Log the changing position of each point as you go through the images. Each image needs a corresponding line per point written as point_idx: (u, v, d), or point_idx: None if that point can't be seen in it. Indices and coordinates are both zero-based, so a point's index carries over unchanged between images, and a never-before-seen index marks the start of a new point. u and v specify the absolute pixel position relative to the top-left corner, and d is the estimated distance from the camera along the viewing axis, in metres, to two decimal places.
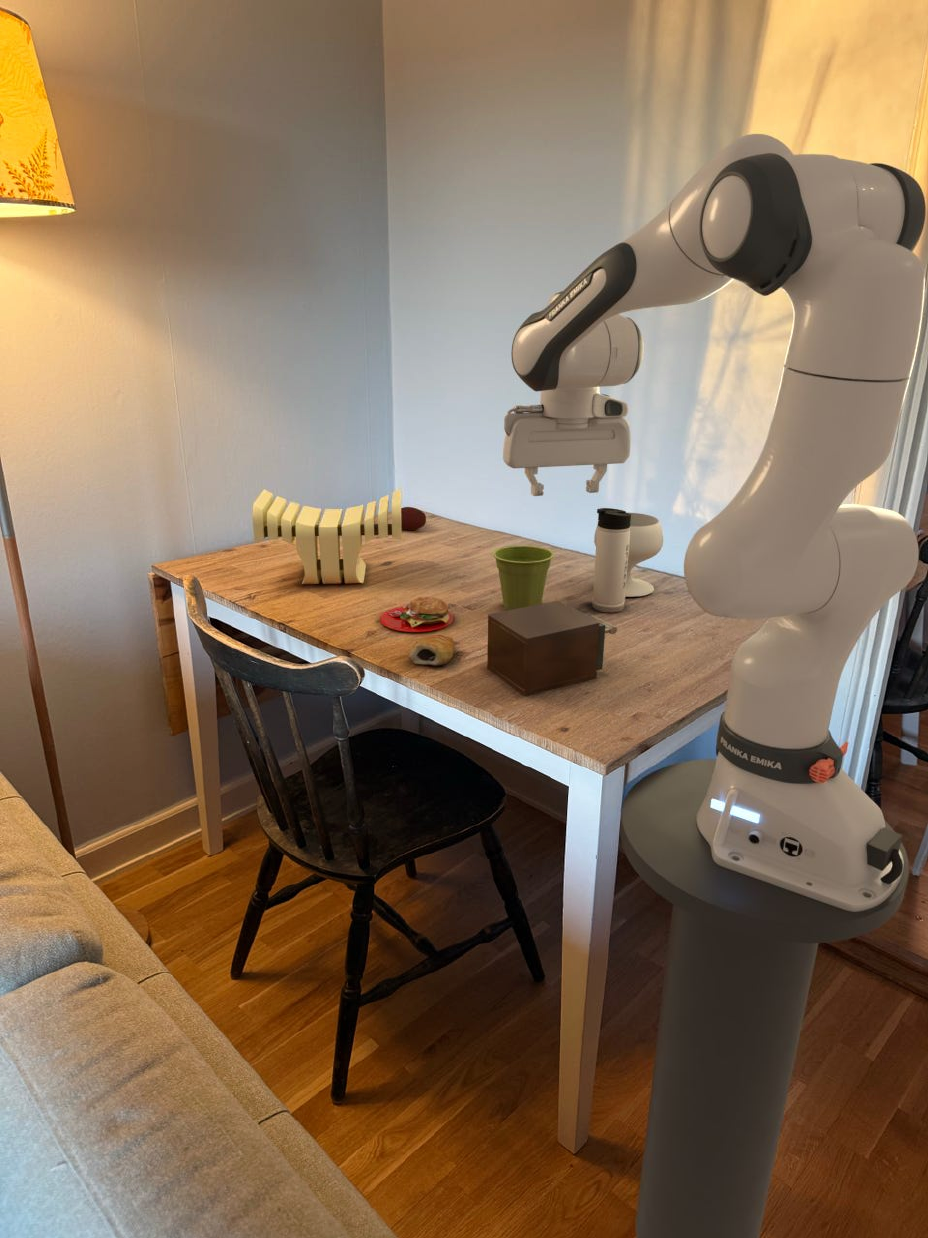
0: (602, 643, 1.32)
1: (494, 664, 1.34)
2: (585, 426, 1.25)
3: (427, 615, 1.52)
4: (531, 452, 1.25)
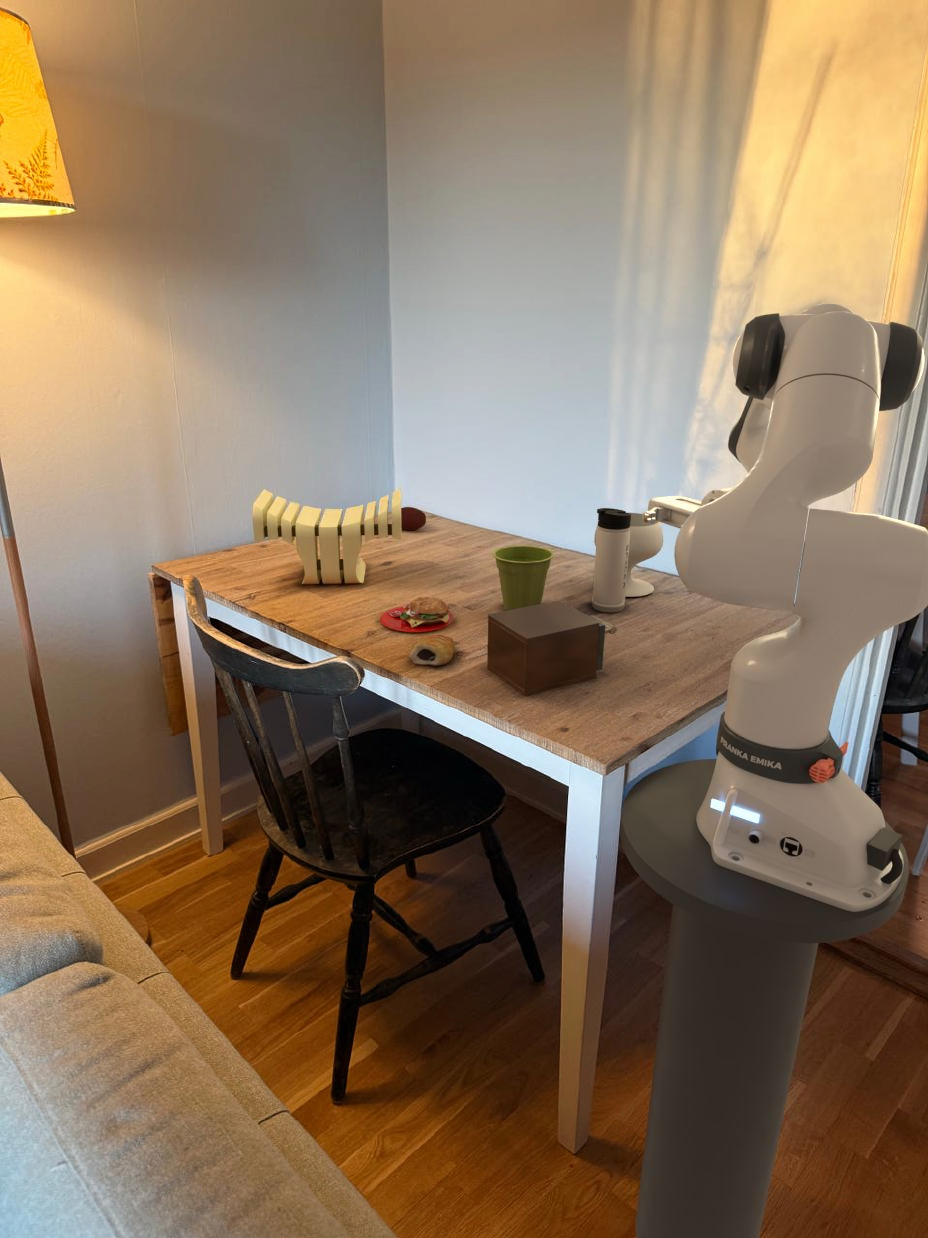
0: (602, 643, 1.32)
1: (494, 664, 1.34)
2: None
3: (427, 615, 1.52)
4: (669, 500, 1.45)
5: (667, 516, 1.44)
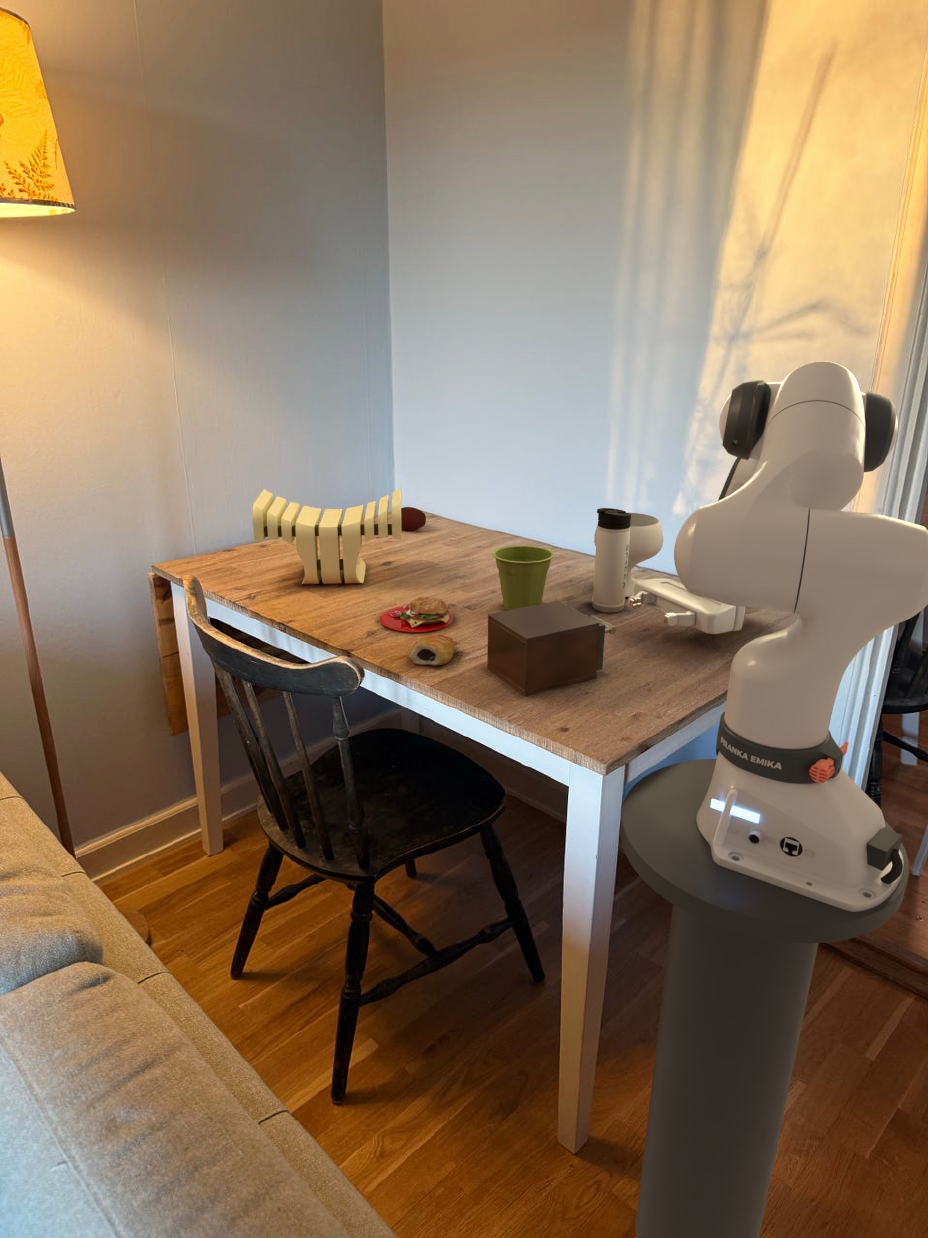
0: (602, 643, 1.32)
1: (494, 664, 1.34)
2: None
3: (427, 615, 1.52)
4: (654, 584, 1.50)
5: (652, 600, 1.48)
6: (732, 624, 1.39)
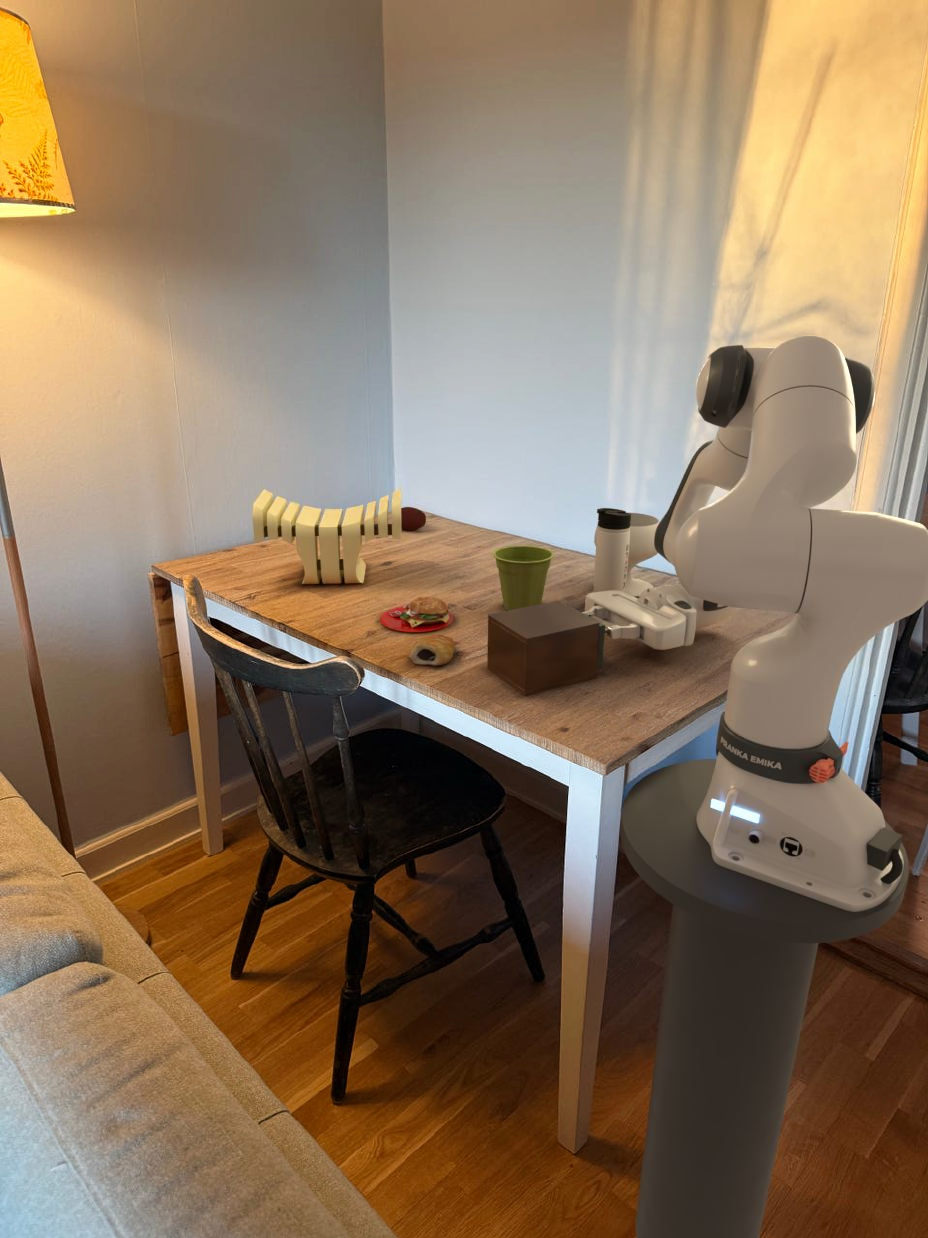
0: (602, 643, 1.32)
1: (494, 664, 1.34)
2: (654, 603, 1.40)
3: (427, 615, 1.52)
4: (605, 597, 1.45)
5: (606, 616, 1.43)
6: (682, 639, 1.35)
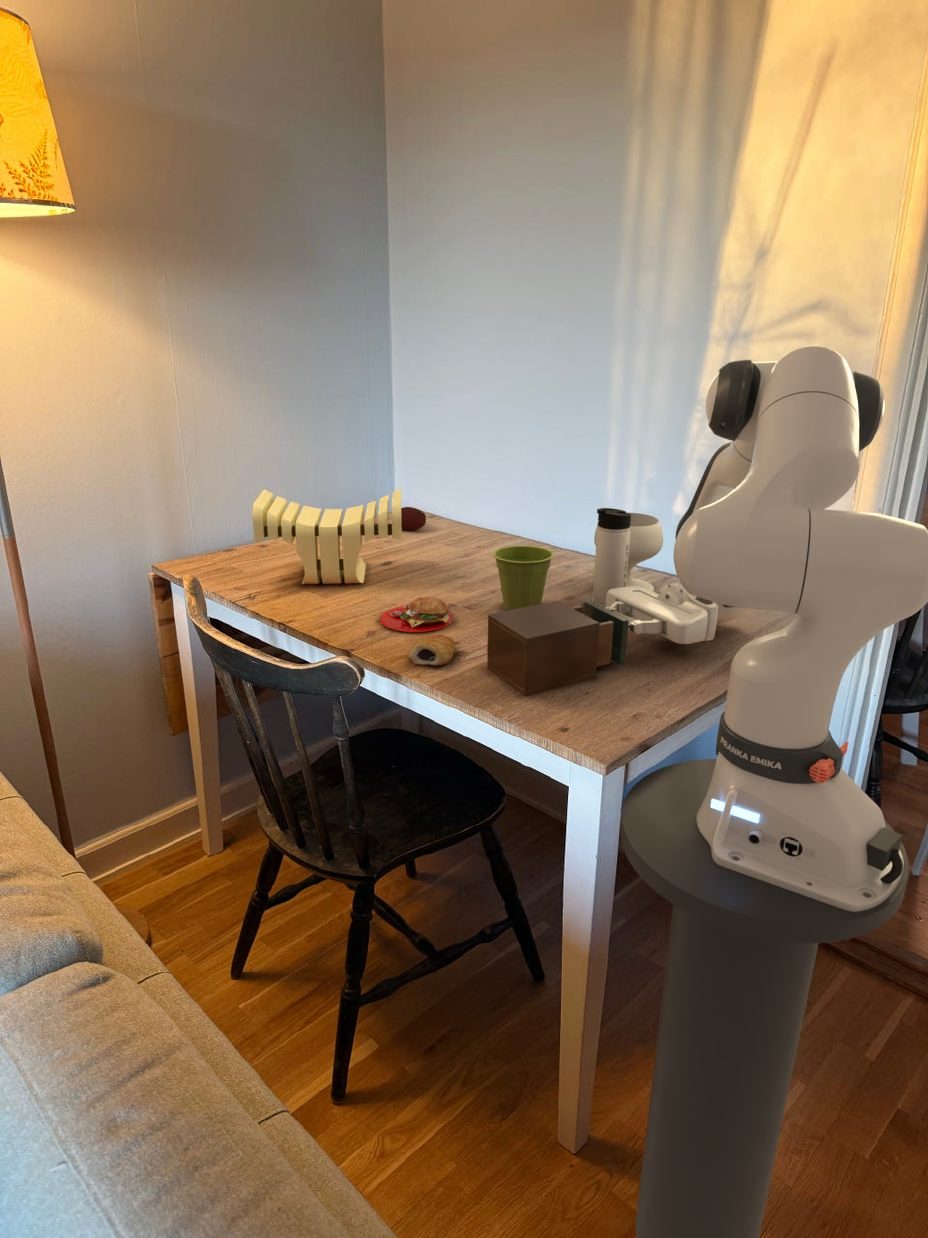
0: (625, 638, 1.34)
1: (494, 664, 1.34)
2: (675, 598, 1.42)
3: (427, 615, 1.52)
4: (626, 593, 1.47)
5: (627, 611, 1.45)
6: (704, 634, 1.37)
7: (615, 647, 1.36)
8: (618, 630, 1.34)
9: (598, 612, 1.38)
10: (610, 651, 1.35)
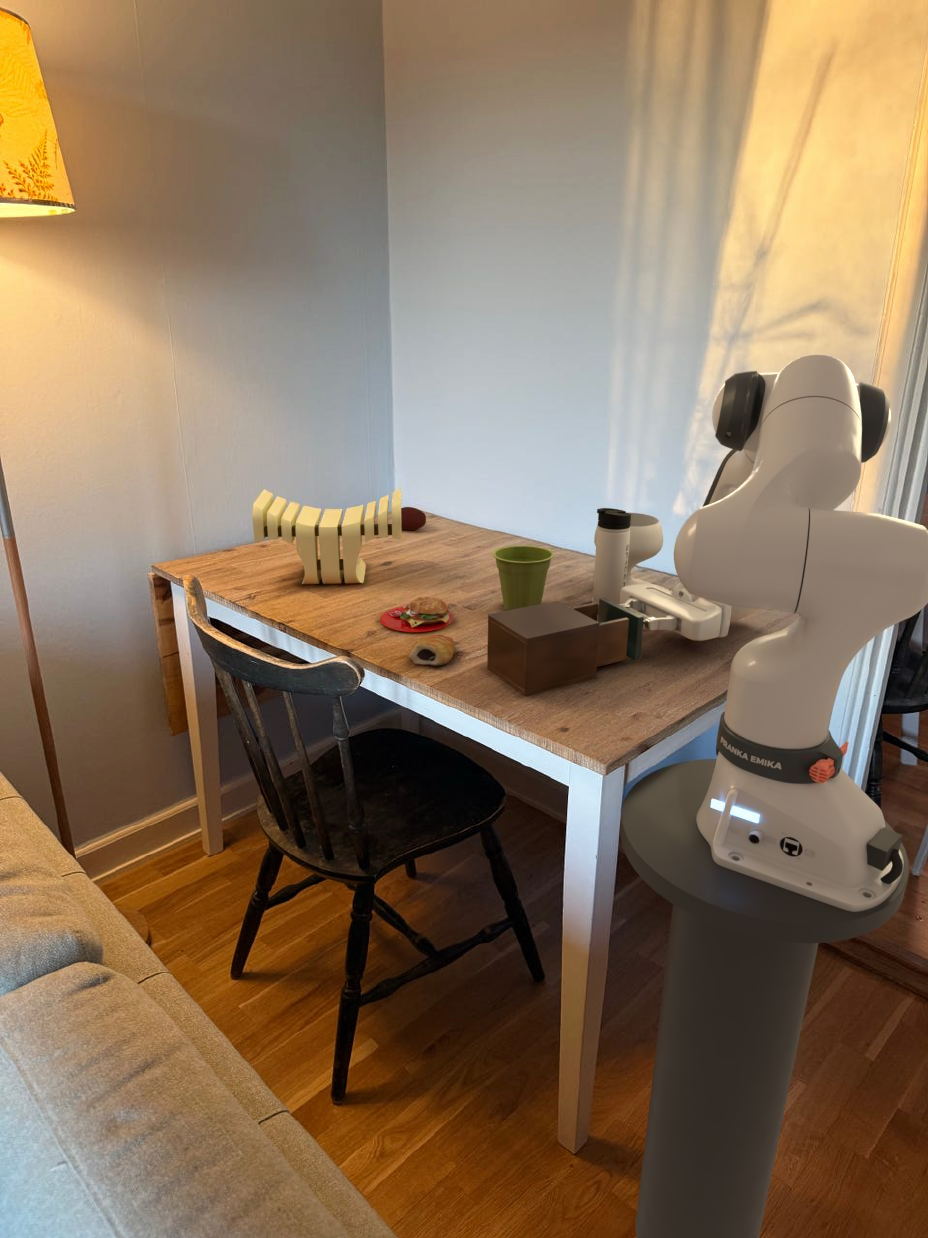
0: (640, 634, 1.36)
1: (494, 664, 1.34)
2: (689, 596, 1.43)
3: (427, 615, 1.52)
4: (640, 590, 1.49)
5: (641, 608, 1.46)
6: (718, 630, 1.38)
7: (630, 643, 1.37)
8: (633, 627, 1.36)
9: (613, 609, 1.40)
10: (625, 647, 1.36)
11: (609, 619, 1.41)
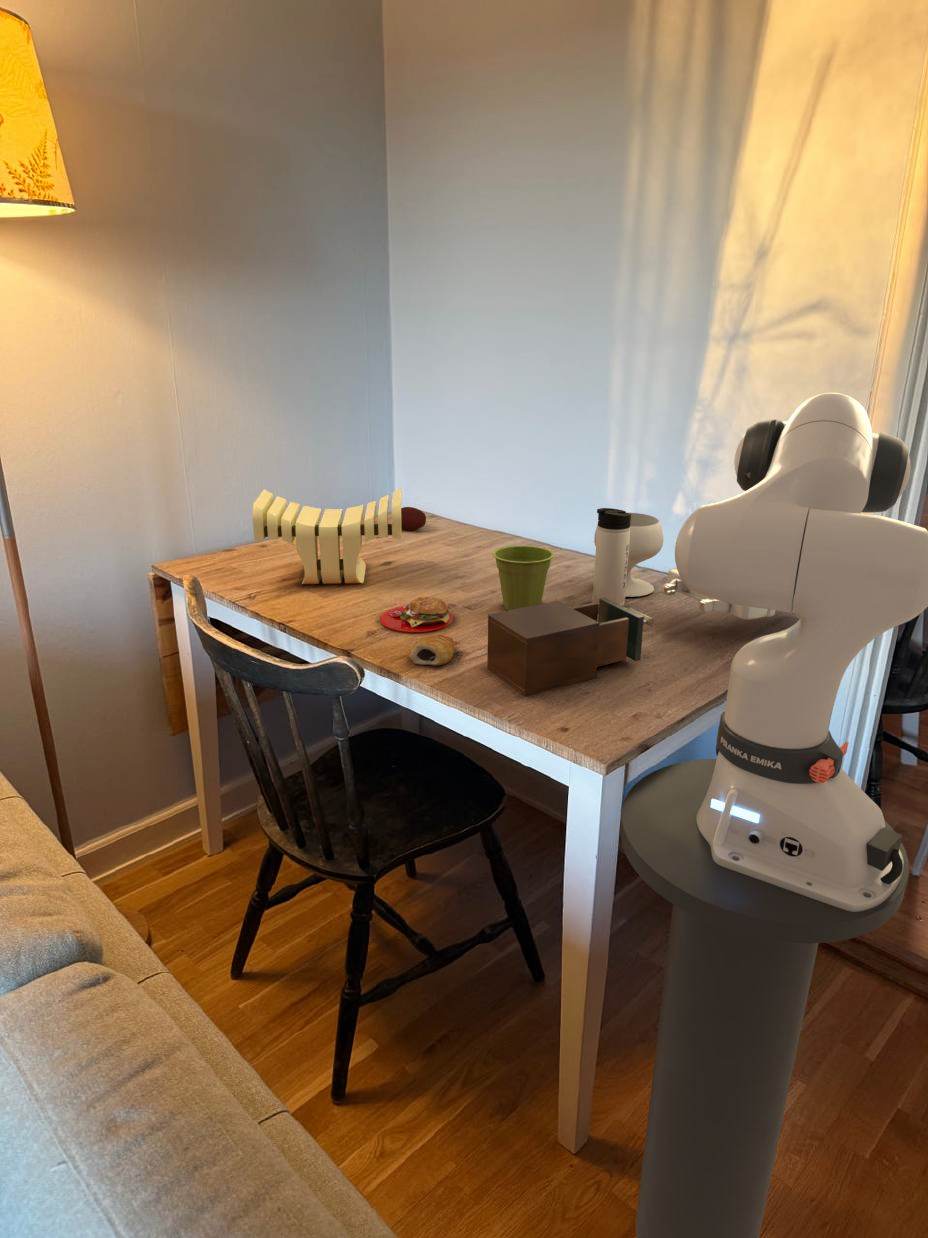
0: (640, 634, 1.36)
1: (494, 664, 1.34)
2: None
3: (427, 615, 1.52)
4: None
5: (686, 587, 1.51)
6: (766, 610, 1.43)
7: (630, 643, 1.37)
8: (633, 627, 1.36)
9: (613, 609, 1.40)
10: (625, 647, 1.36)
11: (609, 619, 1.41)
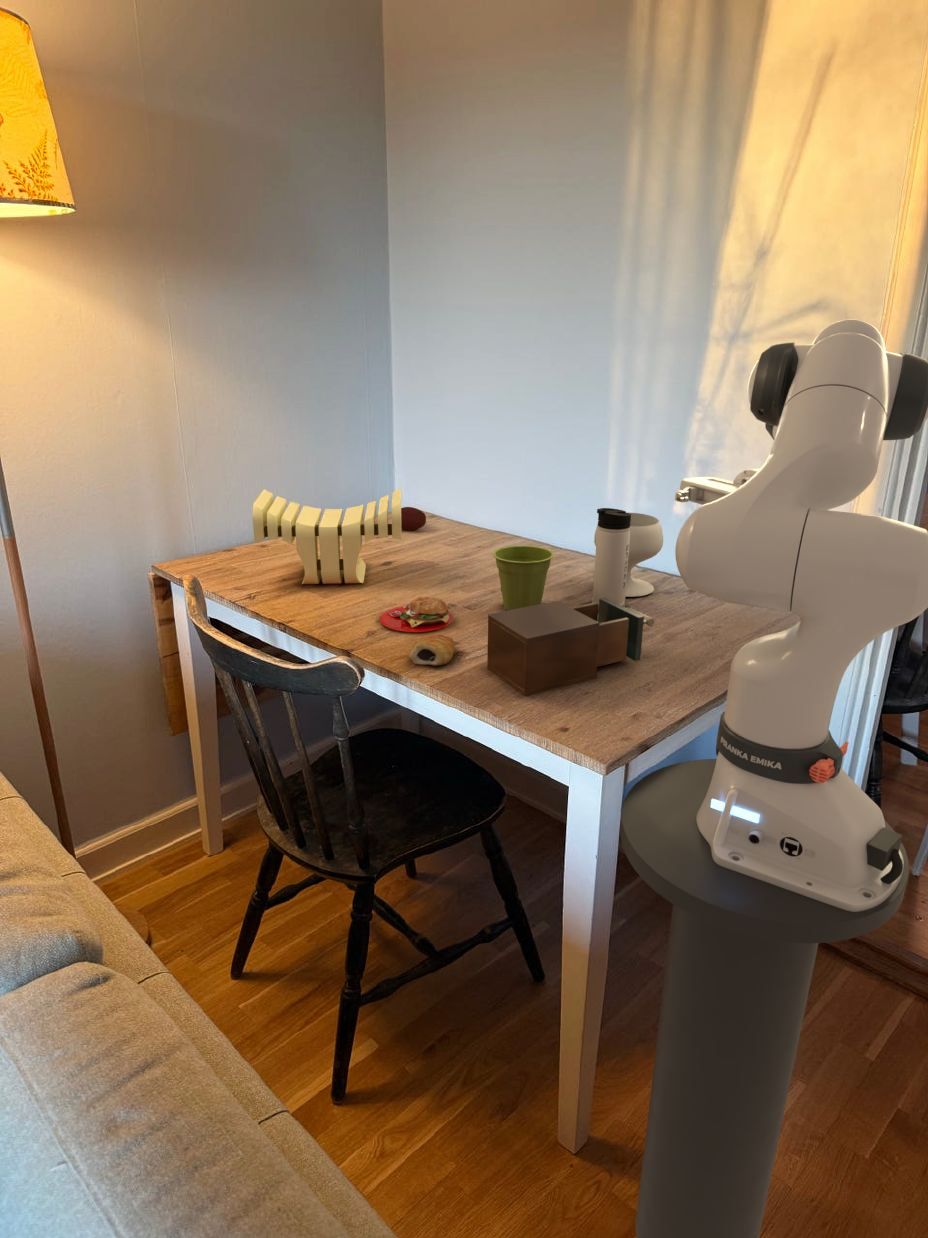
0: (640, 634, 1.36)
1: (494, 664, 1.34)
2: None
3: (427, 615, 1.52)
4: (701, 480, 1.47)
5: (699, 496, 1.46)
6: None
7: (630, 643, 1.37)
8: (633, 627, 1.36)
9: (613, 609, 1.40)
10: (625, 647, 1.36)
11: (609, 619, 1.41)
